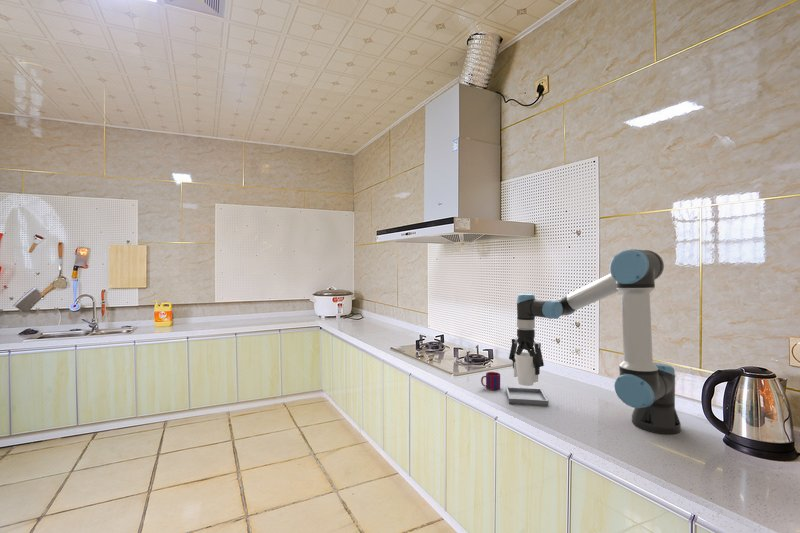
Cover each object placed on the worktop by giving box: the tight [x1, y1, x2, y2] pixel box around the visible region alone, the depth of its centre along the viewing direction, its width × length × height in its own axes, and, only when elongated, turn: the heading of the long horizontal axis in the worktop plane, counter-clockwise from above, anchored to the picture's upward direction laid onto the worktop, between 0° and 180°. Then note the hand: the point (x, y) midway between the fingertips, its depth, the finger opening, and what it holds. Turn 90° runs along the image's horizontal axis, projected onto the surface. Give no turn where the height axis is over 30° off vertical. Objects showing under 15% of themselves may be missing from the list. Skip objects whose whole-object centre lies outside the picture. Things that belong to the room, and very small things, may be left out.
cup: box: [480, 371, 501, 391], centre depth 188 cm, size 7×10×7 cm
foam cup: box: [515, 351, 534, 387], centre depth 173 cm, size 10×9×13 cm
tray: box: [505, 386, 549, 407], centre depth 173 cm, size 16×16×2 cm
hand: (525, 378), depth 173 cm, fingers closed on foam cup, 9 cm apart
